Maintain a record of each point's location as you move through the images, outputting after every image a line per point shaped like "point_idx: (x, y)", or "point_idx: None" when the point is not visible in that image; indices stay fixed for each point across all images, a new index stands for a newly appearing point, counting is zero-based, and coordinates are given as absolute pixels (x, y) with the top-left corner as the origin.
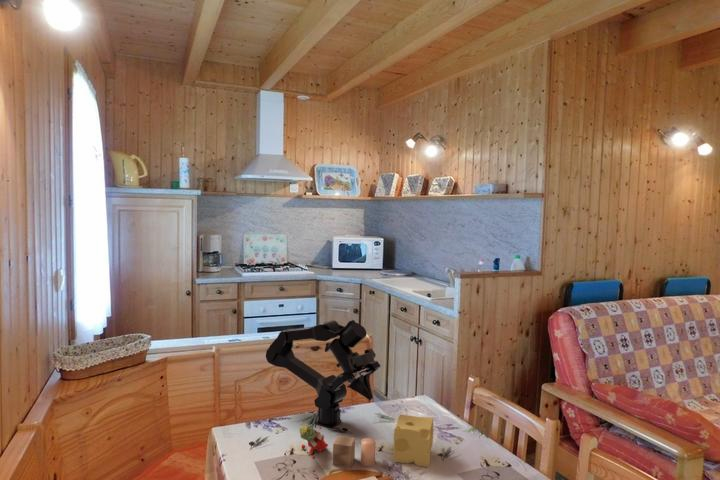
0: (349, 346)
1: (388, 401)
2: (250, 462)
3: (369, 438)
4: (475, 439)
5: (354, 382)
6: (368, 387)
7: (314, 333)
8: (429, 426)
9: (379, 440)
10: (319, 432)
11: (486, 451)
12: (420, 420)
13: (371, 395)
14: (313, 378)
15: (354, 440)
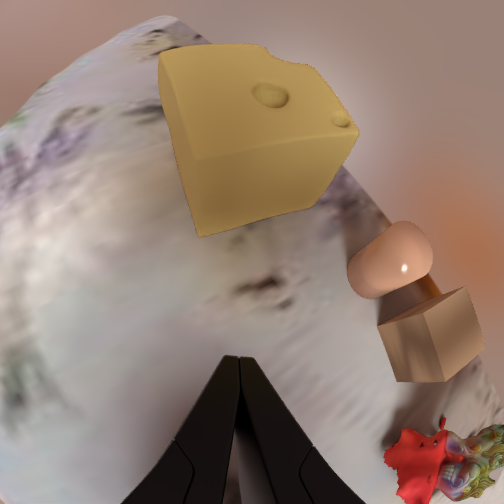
0: None
1: None
2: (498, 486)
3: (391, 259)
4: (62, 92)
5: None
6: (225, 445)
7: None
8: (242, 46)
9: (205, 322)
10: (402, 487)
11: (115, 61)
12: (215, 71)
13: (234, 371)
14: None
15: (427, 309)
